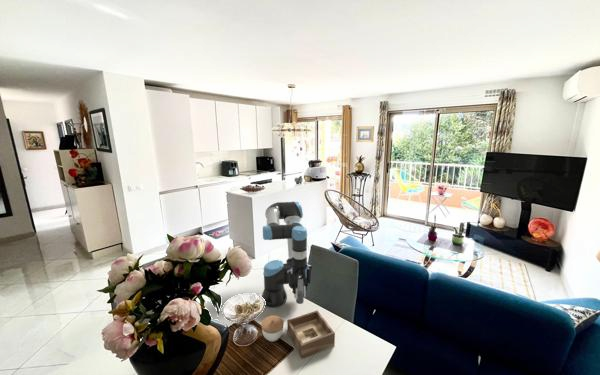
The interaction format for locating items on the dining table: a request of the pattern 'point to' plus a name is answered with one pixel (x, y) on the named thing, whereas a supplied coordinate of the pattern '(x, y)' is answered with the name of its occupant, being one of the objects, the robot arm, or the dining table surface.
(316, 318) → the box
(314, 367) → the dining table surface
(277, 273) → the robot arm
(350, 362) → the dining table surface
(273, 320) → the lidded jar
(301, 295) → the peg
